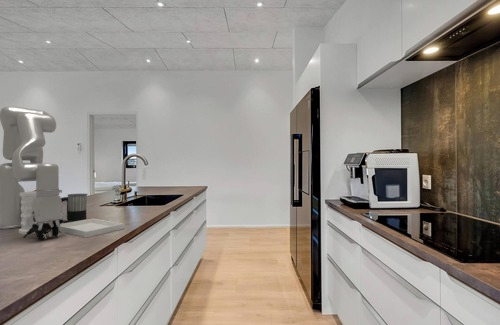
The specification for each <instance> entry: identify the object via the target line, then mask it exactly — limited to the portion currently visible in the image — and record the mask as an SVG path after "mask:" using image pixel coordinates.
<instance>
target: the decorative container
mask: <svg viewBox="0 0 500 325" xmlns="http://www.w3.org/2000/svg"><path fill="white" fill-rule="evenodd" d="M20 196H22V200H21V204H22V207H21V211H22V214H21V218H22V221H21V225H22V227H20V229H18V234H20V235H26V234H27V232H28V231H29V230H30V229H31V228H32V226H30V225H28V224H26V222H27V221H28V220H29V219H30V217H31V209H32V203H33V199H34V198H36V190H34V191H33V190H32V191H25V192H21V193H20ZM33 223H34V224H36V223H37V222H33ZM44 223H48V222H44ZM32 234H33V235H34V234H36V233H35V232H33V233H32ZM32 234H31V235H32Z"/></svg>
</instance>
